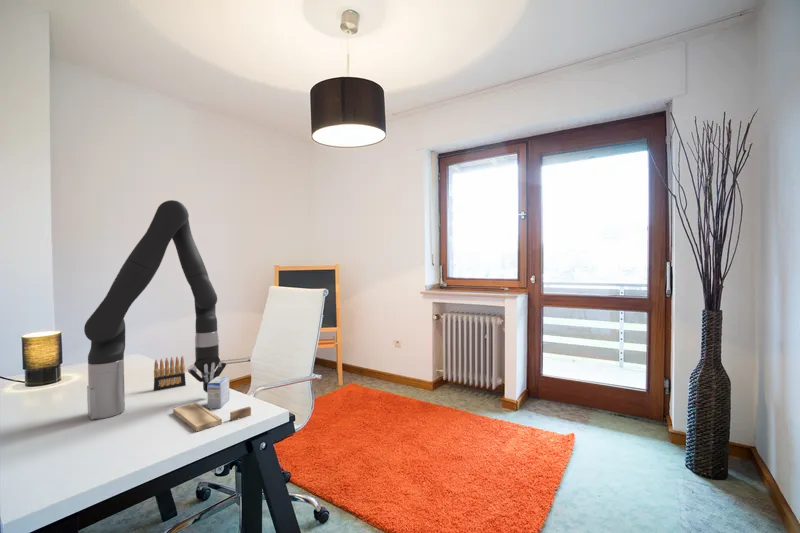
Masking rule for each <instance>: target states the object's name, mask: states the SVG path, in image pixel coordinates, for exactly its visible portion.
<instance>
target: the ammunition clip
mask: <svg viewBox="0 0 800 533" xmlns="http://www.w3.org/2000/svg"><path fill="white" fill-rule="evenodd" d="M179 360H180V361H179ZM153 366H154V370H153V392H156V391H162V390H168V389H174V388H180V387H184V386H185V387H186V385H187V384H186V370H185V367H186V366H185V359H184V356H183V355H181V358H180V359H179V357H178V356H176V357H175V362H174V357H172V356H171V358H170V362H169V358H168V357H166V358H165V361H163V359H162V358H160V360H159V362H158V359H156V358H155V361H154V365H153Z"/></svg>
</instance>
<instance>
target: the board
mask: <svg viewBox="0 0 800 533" xmlns="http://www.w3.org/2000/svg"><path fill="white" fill-rule="evenodd" d="M172 410H173V412H172V413H173V414H174V416H176V417H177V418H179V419H180V420H181V419H182V421H183V422H184V423H185V424H186V423H187V424H186V425H187V426H189V427H190V428H191V429H192V430H194V431H195V432H197V431H198V432H201V431H203V429H204V430H207V429H210V428H209V427H211V428H213V427H212V426H214V427H216V426H215V425H217V426H219V425H218V424H220V425H222V424H223V422H222V420H223V418H221V417H219V416H218V415H216V414H215V413H213V412H212V411H210V409H208V408H206V407H204V406H203V405H201V404H199V403H198V402H193V403H189V404H185V405H182V406H177V407H174V408H172ZM206 428H207V429H206ZM200 430H201V431H200ZM198 432H197V433H198Z"/></svg>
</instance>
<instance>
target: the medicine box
mask: <svg viewBox="0 0 800 533" xmlns="http://www.w3.org/2000/svg"><path fill="white" fill-rule="evenodd" d="M206 393H207V409H208V408H216V409H221V408H222V407H223V406H224V405H226V404H227V402H228V401H230V376H227V375H222V376H220V375H219V376H218V377H216V378H214V379H213V380H212V381H210V382H209V383H208V384H207V392H206Z"/></svg>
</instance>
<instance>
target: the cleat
mask: <svg viewBox="0 0 800 533" xmlns="http://www.w3.org/2000/svg"><path fill="white" fill-rule="evenodd" d="M248 416H252V408H251V406H246V407H243V408H240V409H236V410H233V411H229V418H230V421H231V420H233V421H236V420H238V418H240V419H242V417H243V418H245V417H248ZM235 419H236V420H235Z"/></svg>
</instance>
